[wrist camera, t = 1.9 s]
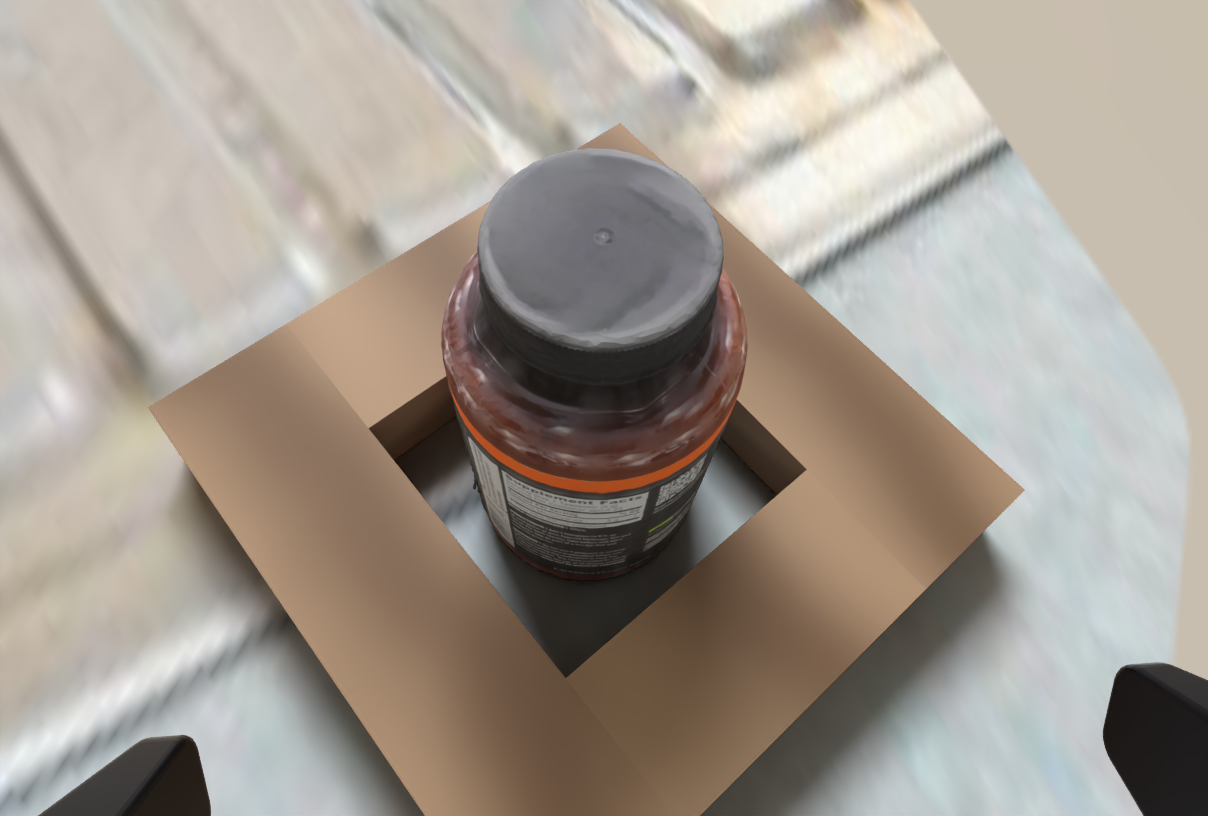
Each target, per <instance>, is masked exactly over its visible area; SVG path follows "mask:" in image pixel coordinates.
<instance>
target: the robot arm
mask: <svg viewBox="0 0 1208 816" xmlns="http://www.w3.org/2000/svg"><path fill="white" fill-rule="evenodd" d="M1103 740H1104V745H1105V748H1106V751H1107V754H1108V756H1109V758H1110V760H1111V762H1112V763H1113V765H1114V767H1115V768H1116V770H1117V772H1118V774H1119V775H1120V777H1121V779H1122V780H1123V782H1124V784H1125V785H1126V787H1127V789H1128V790H1129V792H1130V794H1131V795H1132V797H1133V799H1134V801H1135V802H1136V804H1137V806H1138V807H1139V809H1140V811H1141V812H1142V814H1143V816H1208V680H1206V679H1203V678H1201V677H1199V676H1196V675H1194V674H1192V673H1189V672H1187V671H1184V670H1182V669H1180V668H1177V667H1175V666H1173V665H1170V664H1166V663H1143V664H1130V665H1126V666H1124V667H1122V668H1121V669H1120V670H1119V671H1118V672H1117V674H1116V676H1115V679H1114V683H1113V688H1112V692H1111V697H1110V701H1109V705H1108V710H1107V714H1106V718H1105V723H1104V727H1103ZM38 816H211V806H210V800H209V795H208V791H207V787H206V782H205V778H204V774H203V769H202V765H201V761H200V756H199V752H198V748H197V746H196V743H195V742H194V740H193V739H192V738H191V737H189V736H186V735H178V736H164V737H151V738H147V739H143V740H141V741H140V742H138V743H136V744H135V745H133V746H132V747H131V748H129V749H128V750H127V751H125V752H124V753H123V754H121V755H120V756H119V757H117V758H116V759H114V760H113V761H112V762H110V763H109V764H108V765H106V766H105V767H104V768H102V769H101V770H100V771H98V772H97V773H95V774H94V775H93V776H91V777H90V778H89V779H87V780H86V781H85V782H83V783H82V784H81V785H79V786H78V787H76V788H75V789H74V790H72V791H71V792H70V793H68V794H67V795H66V796H64V797H63V798H62V799H60V800H59V801H57V802H56V803H55V804H53V805H52V806H51V807H49V808H48V809H47V810H45V811H44V812H42V813H41V814H40V815H38Z"/></svg>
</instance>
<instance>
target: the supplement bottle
mask: <svg viewBox="0 0 1208 816" xmlns="http://www.w3.org/2000/svg"><path fill="white" fill-rule="evenodd" d="M723 259H724V253H723V239H722V235H721V232H720V228H719V225H718V223H717V220H716V217H715V215H714V212H713V211H712V209H711V207H710V206H709V205H708V203H707V202H706V200H705V199H704V197H703V196H702V195H701V194H700V193H699V191H698V190H697V189H696V188H695V187H694V186H693V185H692V184H691V183H690V182H689V181H688V180H687V179H685V178H684V177H682V176H681V175H679V174H678V173H677V172H675V171H674V170H672V169H670V168H669V167H667V166H666V165H664V164H662V163H660V162H656V161H654V160H652V159H650V158H646V157H644V156H640V155H636V154H633V153H631V152H623V151H619V150H616V149H593V148H588V149H583V150H570V151H565V152H561V153H558V154H555V155H552V156H549V157H546V158H544V159H541V160H539V161H536V162H534V163H532V164H531V165H529V166H528V167H526V168H525V169H523V170H521V171H520V172H518V173H517V174H516V175H514V176H513V177H512V178H510V179H509V180H508V181H507V182H506V183H505V184H504V185H503V186H502V187H501V188H500V189H499V191H498V192H497V194H496V195H495V196H494V198H493V199H492V200H491V202H490V204H489V206H488V208H487V210H486V212H485V215H484V217H483V220H482V222H481V225H480V228H479V235H478V246H477V252H476V253H474V254H473V255H472V256H471V258H470V259H469V261H468V262H467V264H466V265H465V266H464V268H463V270H462V271H461V273H460V275H459V277H458V278H457V280H456V282H455V284H454V286H453V288H452V290H451V292H450V295H449V298H448V302H447V306H446V307H445V311H444V318H443V323H442V331H441V338H442V341H441V347H442V355H443V362H444V367H445V371H446V376H447V379H448V388H449V391H450V393H451V395H452V398H453V401H454V406H455V410H456V414H457V420H458V422H459V423H460V426H461V430H462V434H463V438H464V443H465V445H466V449H467V453H468V455H469V458H470V464H471V466H472V470H473V472H474V486H473V489H476V484H477V487H478V492H479V493H480V496H481V502H482V504H483V507H484V509H485V511H486V513H487V514H488V516H489V519H490V521H491V523H492V525H493V526H494V528H495V529H496V531H497V533H498V535H499V536H500V537H501V539H502V540H503V541H504V542H505V544H506V545H507V546H508V547H509V548H510V549H511V550H512V551H514V552H515V554H516V555H517V556H518V557H520V558H521V559H523V560H524V561H525V562H527V563H529V564H530V565H531V566H533V567H535V568H537V569H539V570H541V571H544V572H546V573H549V574H552V575H555V576H558V577H563V578H568V579H574V580H598V579H607V578H611V577H616V576H620V575H623V574H625V573H627V572H629V571H631V570H633V569H636V568H638V567H640V566H641V565H643V564H644V563H646V562H648V561H649V560H650V559H652V558H653V557H654V556H656V555H657V554H658V553H659V552H660V551H661V550H663V549H664V547H665V546H666V545H667V544H668V543H669V541H670V540H671V539H672V537H673V536H674V535H675V534H676V532H677V531H678V529H679V528H680V526H681V525H682V524H683V522H684V520H685V518H686V516H687V513H688V512H689V509H690V506H691V504H692V502H693V500H694V497H695V495H696V493H697V491H698V489H699V487H700V484H701V482H702V480H703V477H704V475H705V473H706V470H707V468H708V466H709V463H710V462H711V459H712V457H713V454H714V452H715V450H716V447H717V444H718V442H719V440H720V438H721V435H722V433H723V431H724V428H725V426H726V424H727V421H728V419H729V416H730V414H731V411H732V409H733V407H734V405H735V402H736V399H737V397H738V394H739V392H740V389H741V385H742V380H743V376H744V371H745V364H746V358H747V348H748V341H747V328H746V322H745V317H744V313H743V308H742V305H741V302H740V299H739V296H738V294H737V291H736V289H735V287H734V285H733V283H732V282H731V280H730V278H729V276H728V274H727V273H726V272H725V270H724V269H723Z"/></svg>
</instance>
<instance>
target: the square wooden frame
mask: <svg viewBox="0 0 1208 816" xmlns="http://www.w3.org/2000/svg"><path fill="white" fill-rule="evenodd" d="M588 148H593V149H616V150H619V151H623V152H631V153H633V154H636V155H640V156H644V157H646V158H650V159H652V160H654V161H656V162H660V163H662V164H664V165H666V164H665V163H663V162H662V161H661V160H660V159H659V158H658V157H657V156H656V155H655V154H654V153H652V152H651V151H650V150H649V149H648V148H647V147H646V146H645V145H644V144H643V143H641V142H640V141H639V140H638V139H637V138H636V137H635V136H634V135H633V134H631V133H630V132H629V131H628V130H627V129H626V128H625V127H624V126H623V125H622V124H620V123H619V124H618V125H616V126H614V127H613V128H611V129H609V130H608V131H606V132H604V133H603V134H601V135H600V136H598V137H596V138H595V139H593V140H591V141H590V142H588V143H586V144H585V145H583V146H581V147H580V148H578V149H576V150H583V149H588ZM666 166H667V165H666ZM667 167H668V166H667ZM490 202H491V201H490ZM490 202H488V203H487V204H485V205H483V206H482V207H480V208H478V209H477V210H475V211H473V212H472V213H470V214H468V215H467V216H465V217H463V218H462V219H460V220H458V221H457V222H455V223H453V224H452V225H450V226H448V227H447V228H445V229H443V230H442V231H440V232H438V233H437V234H435V235H433V236H432V237H430V238H428V239H427V240H425V241H423V242H422V243H420V244H418V245H417V246H415V247H414V248H412V249H410V250H409V251H407V252H405V253H404V254H402V255H400V256H399V257H397V258H395V259H394V260H392V261H390V262H389V263H387V264H385V265H384V266H382V267H380V268H379V269H377V270H375V271H374V272H372V273H370V274H369V275H367V276H365V277H364V278H362V279H360V280H359V281H357V282H355V283H354V284H352V285H350V286H349V287H347V288H345V289H344V290H342V291H340V292H339V293H337V294H335V295H334V296H332V297H330V298H329V299H327V300H325V301H324V302H322V303H321V304H319V305H317V306H316V307H314V308H312V309H311V310H309V311H307V312H306V313H304V314H302V315H301V316H299V317H297V318H296V319H294V320H292V321H291V322H289V323H287V324H286V325H284V326H282V327H281V328H279V329H277V330H276V331H274V332H272V333H271V334H269V335H267V336H266V337H264V338H262V339H261V340H259V341H257V342H256V343H254V344H252V345H251V346H249V347H247V348H246V349H244V350H242V351H241V352H239V353H237V354H236V355H234V356H232V357H231V358H229V359H228V360H226V361H224V362H223V363H221V364H219V365H218V366H216V367H214V368H213V369H211V370H209V371H208V372H206V373H204V374H203V375H201V376H199V377H198V378H196V379H194V380H193V381H191V382H189V383H188V384H186V385H184V386H183V387H181V388H179V389H178V390H176V391H174V392H173V393H171V394H169V395H168V396H166V397H164V398H163V399H161V400H159V401H158V402H156V403H154V404H153V405H151V406H149V407H148V409H149V410H150V412H151V413H152V414H153V416H154V417H155V419H156V420H157V422H158V423H159V425H160V426H161V428H162V429H163V431H164V432H165V434H166V435H167V437H168V438H169V440H170V441H171V442H172V444H173V445H174V447H175V448H176V450H177V451H178V453H179V454H180V456H181V457H182V459H183V460H184V462H185V463H186V465H187V466H188V468H189V469H190V470H191V472H192V473H193V475H194V476H195V478H196V479H197V481H198V482H199V484H200V485H201V487H202V488H203V490H204V491H205V493H206V494H207V496H208V497H209V498H210V500H211V501H212V503H213V504H214V506H215V507H216V509H217V510H218V512H219V513H220V515H221V516H222V518H223V519H224V521H225V522H226V524H227V525H228V526H229V528H230V529H231V531H232V532H233V534H234V535H235V537H236V538H237V540H238V541H239V543H240V544H241V546H242V547H243V549H244V550H245V551H246V553H247V554H248V556H249V557H250V559H251V560H252V562H253V563H254V565H255V566H256V568H257V569H258V571H259V572H260V574H261V575H262V577H263V578H264V579H265V581H266V582H267V584H268V585H269V587H270V588H271V590H272V591H273V593H274V594H275V596H276V597H277V599H278V600H279V602H280V603H281V605H282V606H283V607H284V609H285V610H286V612H287V613H288V615H289V616H290V618H291V619H292V621H293V622H294V624H295V625H296V627H297V628H298V630H299V631H300V633H301V634H302V635H303V637H304V638H305V640H306V641H307V643H308V644H309V646H310V647H311V649H312V650H313V652H314V653H315V655H316V656H317V658H318V659H319V661H320V662H321V663H322V665H323V666H324V668H325V669H326V671H327V672H328V674H329V675H330V677H331V678H332V680H333V681H334V683H335V684H336V686H337V687H338V689H339V690H340V691H341V693H342V694H343V696H344V697H345V699H346V700H347V702H348V703H349V705H350V706H351V708H352V709H353V711H354V712H355V714H356V715H357V717H358V718H359V719H360V721H361V722H362V724H363V725H364V727H365V728H366V730H367V731H368V733H369V734H370V736H371V737H372V739H373V740H374V742H375V743H376V745H377V746H378V747H379V749H380V750H381V752H382V753H383V755H384V756H385V758H386V759H387V761H388V762H389V764H390V765H391V767H392V768H393V770H394V771H395V773H396V774H397V775H398V777H399V778H400V780H401V781H402V783H403V784H404V786H405V787H406V789H407V790H408V792H409V793H410V795H411V796H412V798H413V799H414V801H415V802H416V803H417V805H418V806H419V808H420V809H421V811H422V812H423V814H424V815H425V816H700V815H701V814H702V813H703V812H704V811H705V810H706V809H707V808H708V807H709V806H710V805H711V804H712V803H713V802H714V801H715V800H716V799H717V798H718V797H719V796H720V795H721V794H722V793H723V792H724V791H725V790H726V789H727V788H728V787H729V786H730V785H731V784H732V783H733V782H734V781H735V780H736V779H737V778H738V777H739V776H740V775H741V774H742V773H743V772H744V771H745V770H746V769H747V768H748V767H749V766H750V765H751V764H752V763H753V762H754V761H755V760H756V759H757V758H758V757H759V756H760V755H761V754H762V753H763V752H764V751H765V750H766V749H767V748H768V747H769V746H770V745H771V744H772V743H773V742H774V741H775V740H776V739H777V738H778V737H779V736H780V735H781V734H782V733H783V732H784V731H785V730H786V729H787V728H788V727H789V726H790V725H791V724H792V723H793V722H794V721H795V720H796V719H797V718H798V717H799V716H800V715H801V714H802V713H803V712H804V711H805V710H806V709H807V708H808V707H809V706H810V705H811V704H812V703H813V702H814V701H815V700H816V699H817V698H818V697H819V696H820V695H821V694H822V693H823V692H824V691H825V690H826V689H827V688H828V687H829V686H830V685H831V684H832V683H833V682H834V681H835V680H836V679H837V678H838V677H839V676H840V675H841V674H842V673H843V672H844V671H845V670H846V669H847V668H848V667H849V666H850V665H851V664H852V663H853V662H854V661H855V660H856V659H857V658H858V657H859V656H860V655H861V654H862V653H863V652H864V651H865V650H866V649H867V648H868V647H869V646H870V645H871V644H872V643H873V642H874V641H875V640H876V639H877V638H878V637H879V636H880V635H881V634H882V633H883V632H884V631H885V630H886V629H887V628H888V627H889V626H890V625H891V624H892V623H893V622H894V621H895V620H896V619H897V618H898V617H899V616H900V615H901V614H902V613H903V612H904V611H905V610H906V609H907V608H908V607H909V606H910V605H911V604H912V603H913V602H914V601H915V600H916V599H917V598H918V597H919V596H920V595H921V594H922V593H923V592H924V591H925V590H926V589H927V588H928V587H929V586H930V585H931V584H932V583H933V582H934V581H935V580H936V579H937V578H938V577H939V576H940V575H941V574H942V573H943V572H944V571H945V570H946V569H947V568H948V567H949V566H950V565H951V564H952V563H953V562H954V561H955V560H956V559H957V558H958V557H959V556H960V555H961V554H962V553H963V552H964V551H965V549H966V548H967V547H968V546H969V545H970V544H971V543H972V542H973V541H974V540H975V539H976V538H977V537H978V536H979V535H980V534H981V533H982V532H983V531H984V530H985V529H986V528H987V527H988V526H989V525H990V524H991V523H992V522H993V521H994V520H995V519H996V518H997V517H998V516H999V515H1000V514H1001V513H1002V512H1003V511H1004V510H1005V509H1006V508H1007V507H1008V506H1009V505H1010V504H1011V503H1012V502H1013V501H1014V500H1015V499H1016V498H1017V497H1018V496H1019V495H1020V494H1021V493H1022V492H1023V491H1024V489H1023V488H1022V487H1021V486H1020V485H1019V484H1018V483H1016V482H1015V481H1014V480H1013V479H1012V478H1011V477H1010V476H1009V475H1008V474H1007V473H1005V472H1004V471H1003V470H1002V469H1001V468H1000V467H999V466H998V465H997V464H996V463H994V462H993V461H992V460H991V459H990V458H989V457H988V456H987V455H986V454H984V453H983V452H982V451H981V450H980V449H979V448H978V447H977V446H976V445H975V444H973V443H972V442H971V441H970V440H969V439H968V438H967V437H966V436H965V435H964V434H962V433H961V432H960V431H959V430H958V429H957V428H956V427H955V426H954V425H953V424H951V423H950V422H949V421H948V420H947V419H946V418H945V417H944V416H943V415H941V414H940V413H939V412H938V411H937V410H936V409H935V408H934V407H933V406H932V405H930V404H929V403H928V402H927V401H926V400H925V399H924V398H923V397H922V396H921V395H919V394H918V393H917V392H916V391H915V390H914V389H913V388H912V387H911V386H909V385H908V384H907V383H906V382H905V381H904V380H903V379H902V378H901V377H900V376H898V375H897V374H896V373H895V372H894V371H893V370H892V369H891V368H890V367H889V366H887V365H886V364H885V363H884V362H883V361H882V360H881V359H880V358H879V357H877V356H876V355H875V354H874V353H873V352H872V351H871V350H870V349H869V348H868V347H866V346H865V345H864V344H863V343H862V342H861V341H860V340H859V339H858V338H857V337H855V336H854V335H853V334H852V333H851V332H850V331H849V330H848V329H847V328H845V327H844V326H843V325H842V324H841V323H840V322H839V321H838V320H837V319H836V318H834V317H833V316H832V315H831V314H830V313H829V312H828V311H827V310H826V309H825V308H823V307H822V306H821V305H820V304H819V303H818V302H817V301H816V300H815V299H813V298H812V297H811V296H810V295H809V294H808V293H807V292H806V291H805V290H804V289H802V288H801V287H800V286H799V285H798V284H797V283H796V282H795V281H794V280H793V279H791V278H790V277H789V276H788V275H787V274H786V273H785V272H784V271H783V270H782V269H780V268H779V267H778V266H777V265H776V264H775V263H774V262H773V261H772V260H770V259H769V258H768V257H767V256H766V255H765V254H764V253H763V252H762V251H761V250H759V249H758V248H757V247H756V246H755V245H754V244H753V243H752V242H751V241H750V240H748V239H747V238H746V237H745V236H744V235H743V234H742V233H741V232H740V231H738V230H737V229H736V228H735V227H734V226H733V225H732V224H731V223H730V222H729V221H727V220H726V219H725V218H724V217H723V216H722V215H721V214H720V213H719V212H718V211H716V210H715V209H714V208H713V207H712V206H711V205H710V204H709V203H708V202H707V203H708V205H709V206H710V207H711V209H712V211H713V212H714V215H715V217H716V220H717V223H718V225H719V228H720V232H721V235H722V239H723V253H724V259H723V269H724V270H725V272H726V273H727V274H728V276H729V278H730V280H731V282H732V283H733V285H734V287H735V289H736V291H737V294H738V296H739V299H740V302H741V305H742V308H743V313H744V317H745V322H746V328H747V341H748V348H747V358H746V364H745V371H744V376H743V380H742V385H741V389H740V392H739V394H738V397H737V399H736V402H735V405H734V407H733V409H732V411H731V414H730V416H729V419H728V421H727V424H726V426H725V428H724V431H723V433H722V435H721V439H722V440H723V441H724V442H725V443H726V444H727V445H728V446H729V447H730V448H731V449H732V450H733V451H734V452H735V453H736V454H737V455H738V456H739V457H740V458H741V459H742V460H743V461H744V462H745V463H746V464H747V465H748V466H749V467H750V468H751V469H752V471H753V472H754V473H755V474H756V475H757V476H758V477H759V478H760V479H761V480H762V481H763V482H764V483H765V484H766V485H767V486H768V487H769V488H770V489H771V490H772V491H773V492H774V493H775V494H776V495H777V496H776V497H775V498H773V499H772V500H771V501H770V502H769V503H768V504H767V505H765V506H764V507H763V508H762V509H761V510H760V511H758V512H757V513H756V514H755V515H754V516H753V517H752V518H750V519H749V520H748V521H747V522H746V523H745V524H743V525H742V526H741V527H740V528H739V529H738V530H737V531H735V532H734V533H733V534H732V535H731V536H730V537H728V538H727V539H726V540H725V541H724V542H723V543H721V544H720V545H719V546H718V547H717V548H716V549H715V550H713V551H712V552H711V553H710V554H709V555H708V556H706V557H705V558H704V559H703V560H702V561H701V562H700V563H698V564H697V565H696V566H695V567H694V568H693V569H691V570H690V571H689V572H688V573H687V574H686V575H685V576H683V577H682V578H681V579H680V580H679V581H678V582H676V583H675V584H674V585H673V586H672V587H671V588H670V589H668V590H667V591H666V592H665V593H664V594H663V595H661V596H660V597H659V598H658V599H657V600H656V601H654V602H653V603H652V604H651V605H650V606H649V607H648V608H646V609H645V610H644V611H643V612H642V613H641V614H639V615H638V616H637V617H636V618H635V619H634V620H633V621H631V622H630V623H629V624H628V625H627V626H626V627H624V628H623V629H622V630H621V631H620V632H619V633H618V634H616V635H615V636H614V637H613V638H612V639H611V640H609V641H608V642H607V643H606V644H605V645H604V646H602V647H601V648H600V649H599V650H598V651H597V652H596V653H594V654H593V655H592V656H591V657H590V658H589V659H587V660H586V661H585V662H584V663H583V664H582V665H581V666H579V667H578V668H577V669H576V670H575V671H574V672H572V673H571V674H570V675H569V676H568V677H567V678H565V677H564V675H563V674H562V673H561V672H560V670H559V669H558V668H557V667H556V665H555V664H554V663H553V662H552V660H551V659H550V658H549V656H548V655H547V654H546V653H545V651H544V650H543V649H542V648H541V646H540V645H539V644H538V643H537V641H536V640H535V639H534V637H533V636H532V635H531V634H530V632H529V631H528V630H527V629H526V627H525V626H524V625H523V624H522V622H521V621H520V620H519V618H518V617H517V616H516V615H515V613H514V612H513V611H512V610H511V608H510V607H509V606H508V605H507V603H506V602H505V601H504V599H503V598H502V597H501V596H500V594H499V593H498V592H497V591H496V589H495V588H494V587H493V586H492V584H491V583H490V582H489V580H488V579H487V578H486V577H485V575H484V574H483V573H482V572H481V570H480V569H479V568H478V566H477V565H476V564H475V563H474V561H473V560H472V559H471V558H470V556H469V555H468V554H467V553H466V551H465V550H464V549H463V547H462V546H461V545H460V544H459V542H458V541H457V540H456V539H455V537H454V536H453V535H452V534H451V532H450V531H449V530H448V528H447V527H446V526H445V525H444V523H443V522H442V521H441V520H440V518H439V517H438V516H437V515H436V513H435V512H434V511H433V509H432V508H431V507H430V506H429V504H428V503H427V502H426V501H425V499H424V498H423V497H422V496H421V494H420V493H419V492H418V490H417V489H416V488H415V487H414V485H413V484H412V483H411V482H410V480H409V479H408V478H407V477H406V475H405V474H404V473H403V471H402V470H401V469H400V468H399V466H398V465H397V464H396V463H395V461H394V460H395V459H396V458H398V457H399V456H400V455H402V454H403V453H405V452H406V451H408V450H409V449H411V448H412V447H413V446H415V445H416V444H418V443H419V442H421V441H422V440H423V439H425V438H426V437H428V436H429V435H431V434H432V433H434V432H435V431H436V430H438V429H439V428H441V427H442V426H444V425H445V424H447V423H448V422H449V421H451V420H452V419H454V418H455V417H457V414H456V410H455V406H454V401H453V398H452V395H451V393H450V391H449V388H448V379H447V376H446V371H445V367H444V362H443V355H442V347H441V341H442V338H441V331H442V323H443V318H444V311H445V307H446V306H447V302H448V298H449V295H450V292H451V290H452V288H453V286H454V284H455V282H456V280H457V278H458V277H459V275H460V273H461V271H462V270H463V268H464V266H465V265H466V264H467V262H468V261H469V259H470V258H471V256H472V255H473V254H474V253H476V252H477V246H478V235H479V228H480V225H481V222H482V220H483V217H484V215H485V212H486V210H487V208H488V206H489V204H490Z"/></svg>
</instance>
